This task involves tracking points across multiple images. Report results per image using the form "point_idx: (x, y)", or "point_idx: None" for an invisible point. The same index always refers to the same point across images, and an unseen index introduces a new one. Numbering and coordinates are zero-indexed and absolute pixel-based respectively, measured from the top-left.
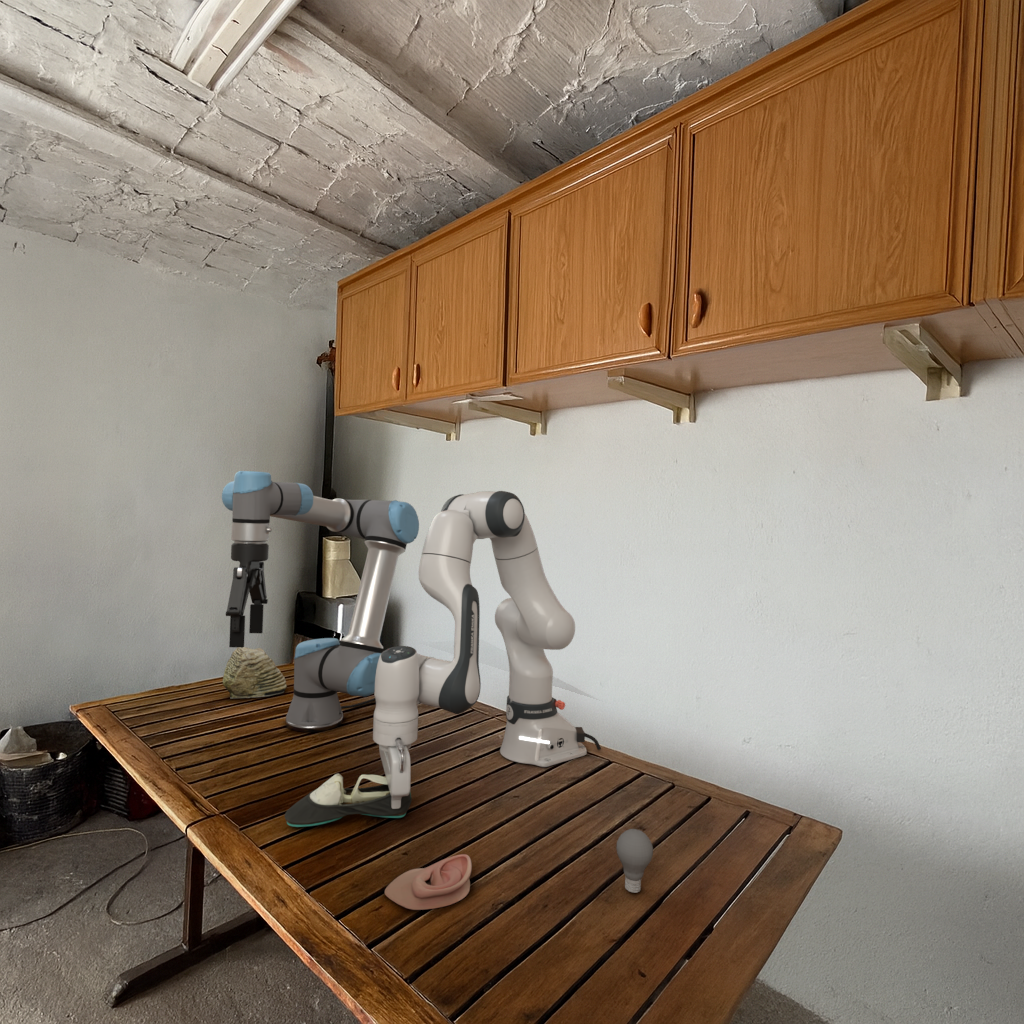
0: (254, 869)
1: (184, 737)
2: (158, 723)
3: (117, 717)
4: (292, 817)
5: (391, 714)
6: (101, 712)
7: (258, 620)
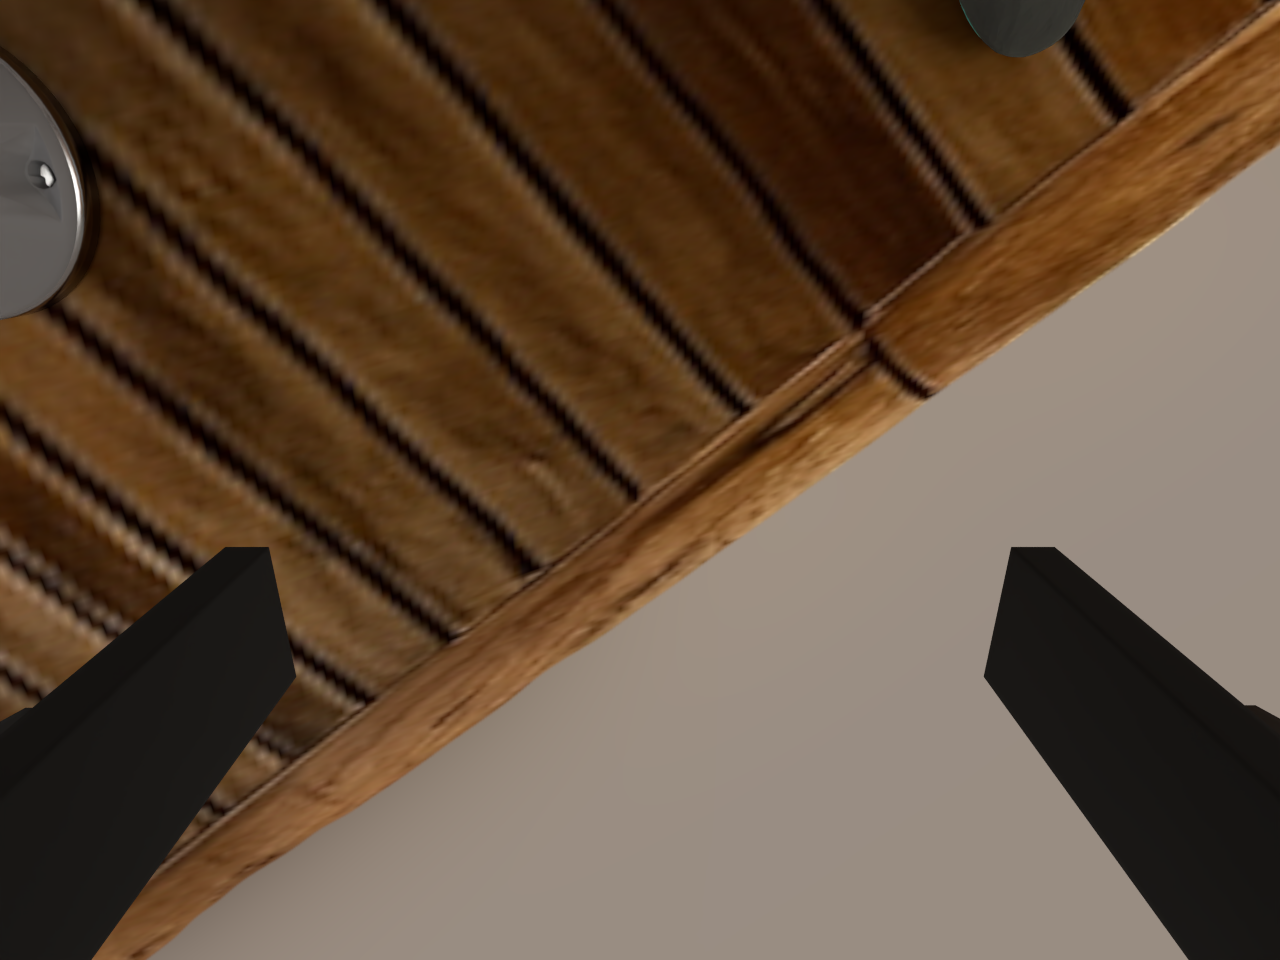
0: (1252, 99)
1: None
2: None
3: None
4: (1079, 8)
5: None
6: (115, 931)
7: (173, 694)
